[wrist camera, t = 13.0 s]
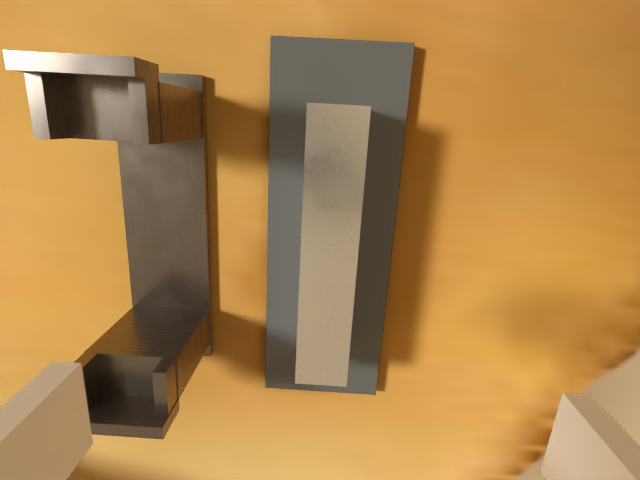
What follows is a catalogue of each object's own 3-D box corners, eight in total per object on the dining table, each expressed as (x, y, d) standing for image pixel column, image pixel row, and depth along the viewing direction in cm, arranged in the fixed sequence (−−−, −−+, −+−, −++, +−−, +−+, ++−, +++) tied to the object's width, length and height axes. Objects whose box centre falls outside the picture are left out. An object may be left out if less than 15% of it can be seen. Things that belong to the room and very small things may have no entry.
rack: (115, 71, 26) (-1, 44, 17) (204, 76, 26) (135, 51, 17) (140, 346, 32) (64, 434, 23) (212, 351, 32) (165, 442, 23)
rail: (311, 105, 26) (306, 102, 21) (364, 108, 26) (371, 106, 21) (300, 346, 31) (295, 383, 27) (344, 349, 31) (346, 386, 26)
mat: (272, 38, 25) (270, 35, 25) (412, 45, 25) (414, 43, 24) (267, 381, 33) (265, 387, 32) (374, 388, 33) (375, 394, 32)
